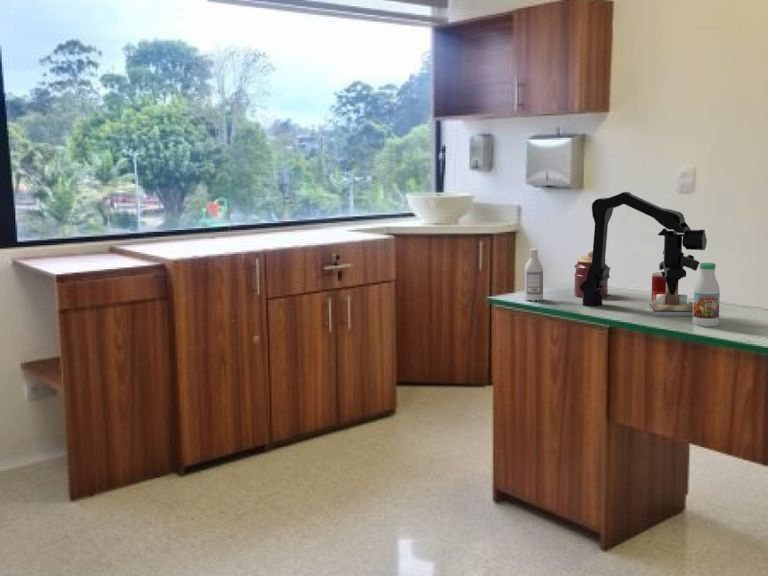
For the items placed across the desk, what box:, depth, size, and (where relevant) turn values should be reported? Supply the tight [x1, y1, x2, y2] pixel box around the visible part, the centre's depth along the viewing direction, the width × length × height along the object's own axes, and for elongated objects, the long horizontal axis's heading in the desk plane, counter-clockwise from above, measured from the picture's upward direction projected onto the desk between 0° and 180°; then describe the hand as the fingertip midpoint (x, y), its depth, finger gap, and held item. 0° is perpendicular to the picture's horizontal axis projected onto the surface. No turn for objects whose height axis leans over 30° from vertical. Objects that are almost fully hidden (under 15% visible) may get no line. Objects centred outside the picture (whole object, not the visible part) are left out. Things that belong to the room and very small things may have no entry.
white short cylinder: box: [656, 294, 666, 304], centre depth 265 cm, size 3×3×3 cm
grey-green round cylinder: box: [678, 293, 688, 305], centre depth 264 cm, size 3×3×3 cm
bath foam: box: [524, 248, 544, 302], centre depth 298 cm, size 7×7×20 cm
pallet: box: [650, 282, 693, 311], centre depth 264 cm, size 12×12×10 cm
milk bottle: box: [692, 262, 720, 328], centre depth 246 cm, size 8×8×20 cm
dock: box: [648, 303, 693, 317], centre depth 265 cm, size 13×13×2 cm
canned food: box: [651, 271, 666, 300], centre depth 284 cm, size 8×8×11 cm
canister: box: [573, 250, 609, 298], centre depth 303 cm, size 13×13×18 cm
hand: (671, 293), depth 264 cm, fingers closed on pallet, 3 cm apart
